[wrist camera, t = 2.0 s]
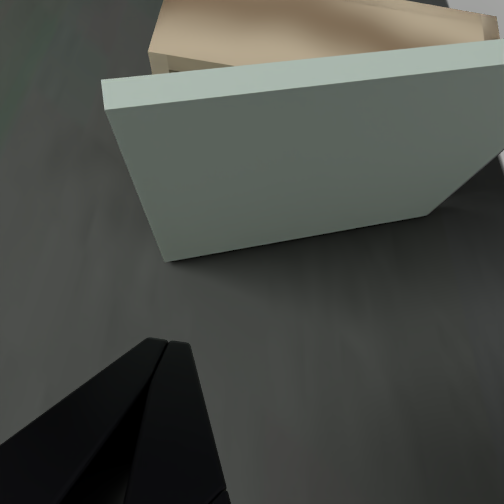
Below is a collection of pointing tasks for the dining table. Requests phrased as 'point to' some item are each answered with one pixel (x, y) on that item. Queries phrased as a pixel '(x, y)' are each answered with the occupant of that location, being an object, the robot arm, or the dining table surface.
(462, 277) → the dining table surface
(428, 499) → the dining table surface
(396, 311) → the dining table surface
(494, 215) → the dining table surface
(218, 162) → the flap
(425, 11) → the crate
